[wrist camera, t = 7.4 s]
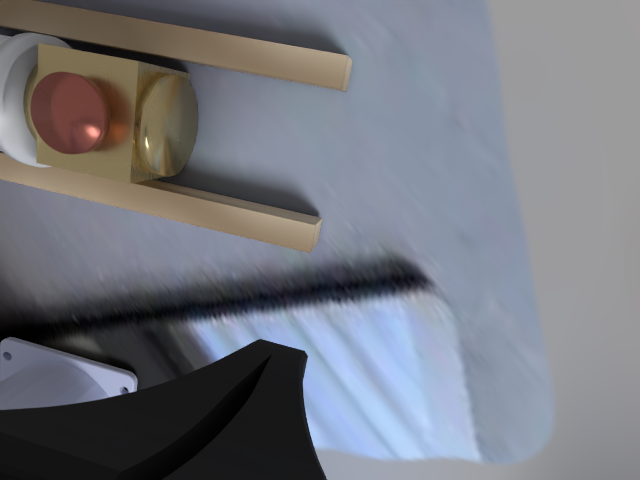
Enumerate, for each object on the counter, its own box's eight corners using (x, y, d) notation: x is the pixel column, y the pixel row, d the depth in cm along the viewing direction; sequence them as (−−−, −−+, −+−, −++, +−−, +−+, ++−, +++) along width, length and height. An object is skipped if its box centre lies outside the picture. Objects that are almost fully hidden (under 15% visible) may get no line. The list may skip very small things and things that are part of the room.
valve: (203, 76, 20) (137, 59, 15) (192, 176, 21) (129, 190, 17) (94, 56, 21) (0, 35, 16) (90, 154, 22) (1, 161, 17)
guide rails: (317, 243, 21) (310, 252, 19) (-12, 166, 23) (-41, 168, 22) (352, 61, 19) (347, 55, 17) (-12, -4, 21) (-45, -14, 20)
